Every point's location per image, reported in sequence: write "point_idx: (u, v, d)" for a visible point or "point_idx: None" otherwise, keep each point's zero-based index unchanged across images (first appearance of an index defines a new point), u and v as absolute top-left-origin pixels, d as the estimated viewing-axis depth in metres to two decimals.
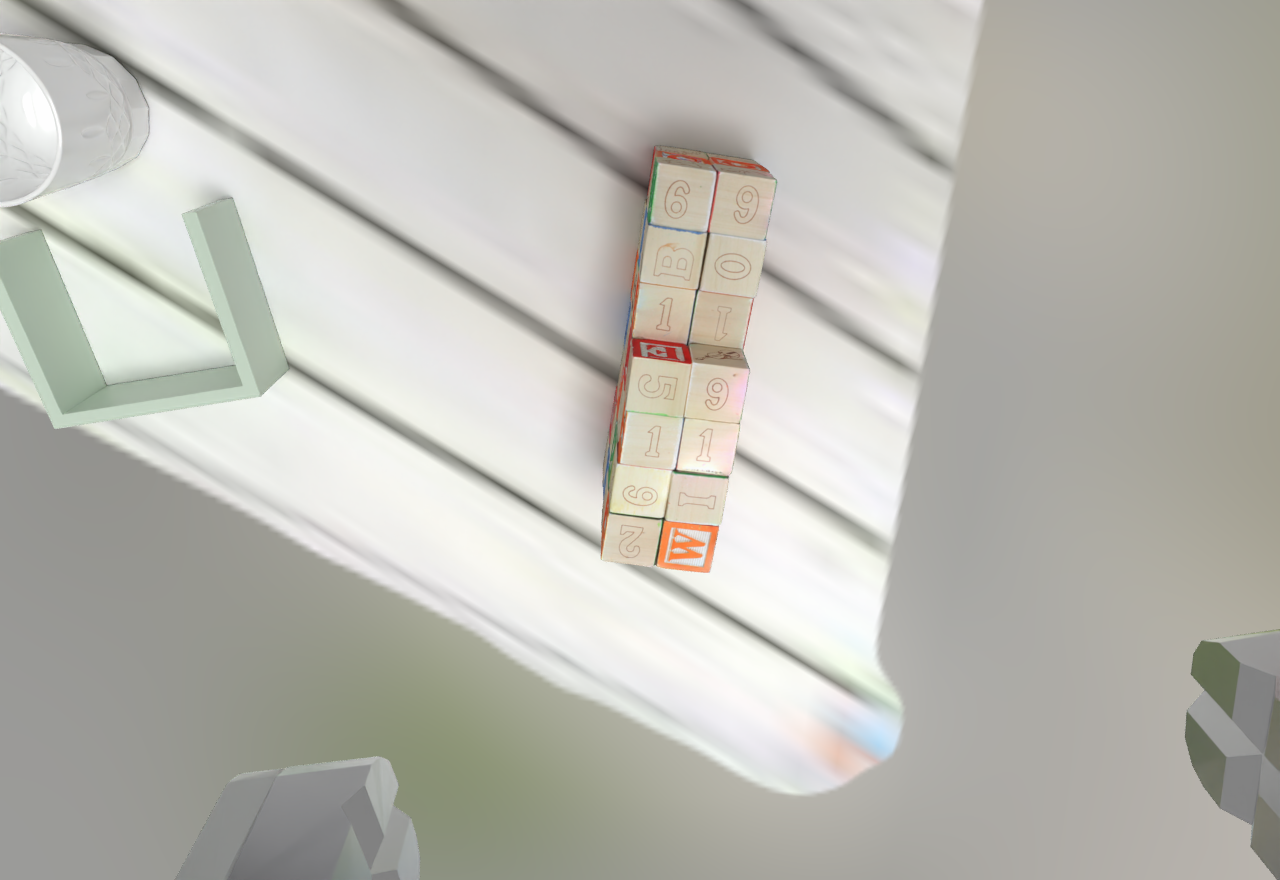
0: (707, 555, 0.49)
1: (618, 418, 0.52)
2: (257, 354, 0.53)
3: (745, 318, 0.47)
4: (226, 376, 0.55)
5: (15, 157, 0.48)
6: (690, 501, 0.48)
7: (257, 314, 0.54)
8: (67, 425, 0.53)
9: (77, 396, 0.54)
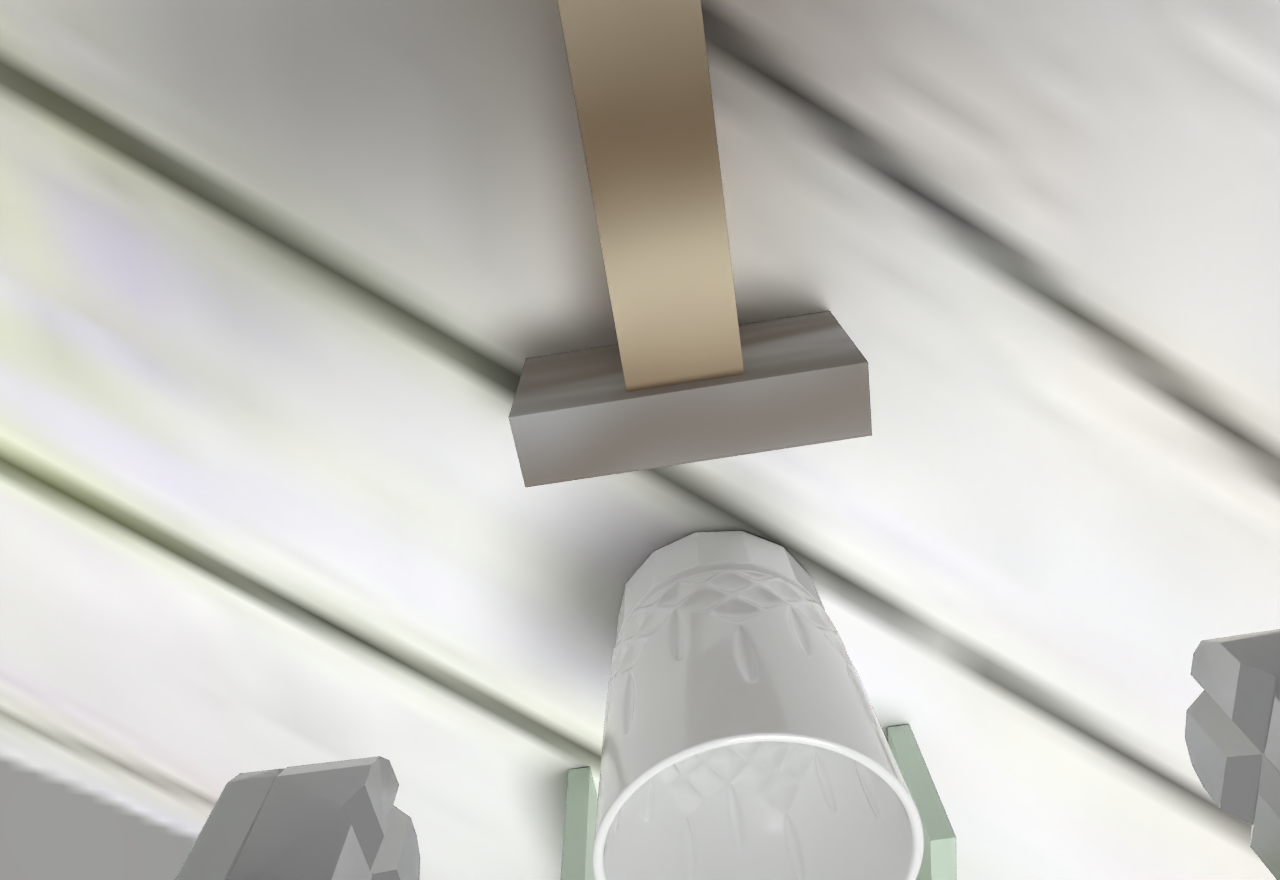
0: None
1: None
2: None
3: None
4: None
5: None
6: None
7: None
8: None
9: None
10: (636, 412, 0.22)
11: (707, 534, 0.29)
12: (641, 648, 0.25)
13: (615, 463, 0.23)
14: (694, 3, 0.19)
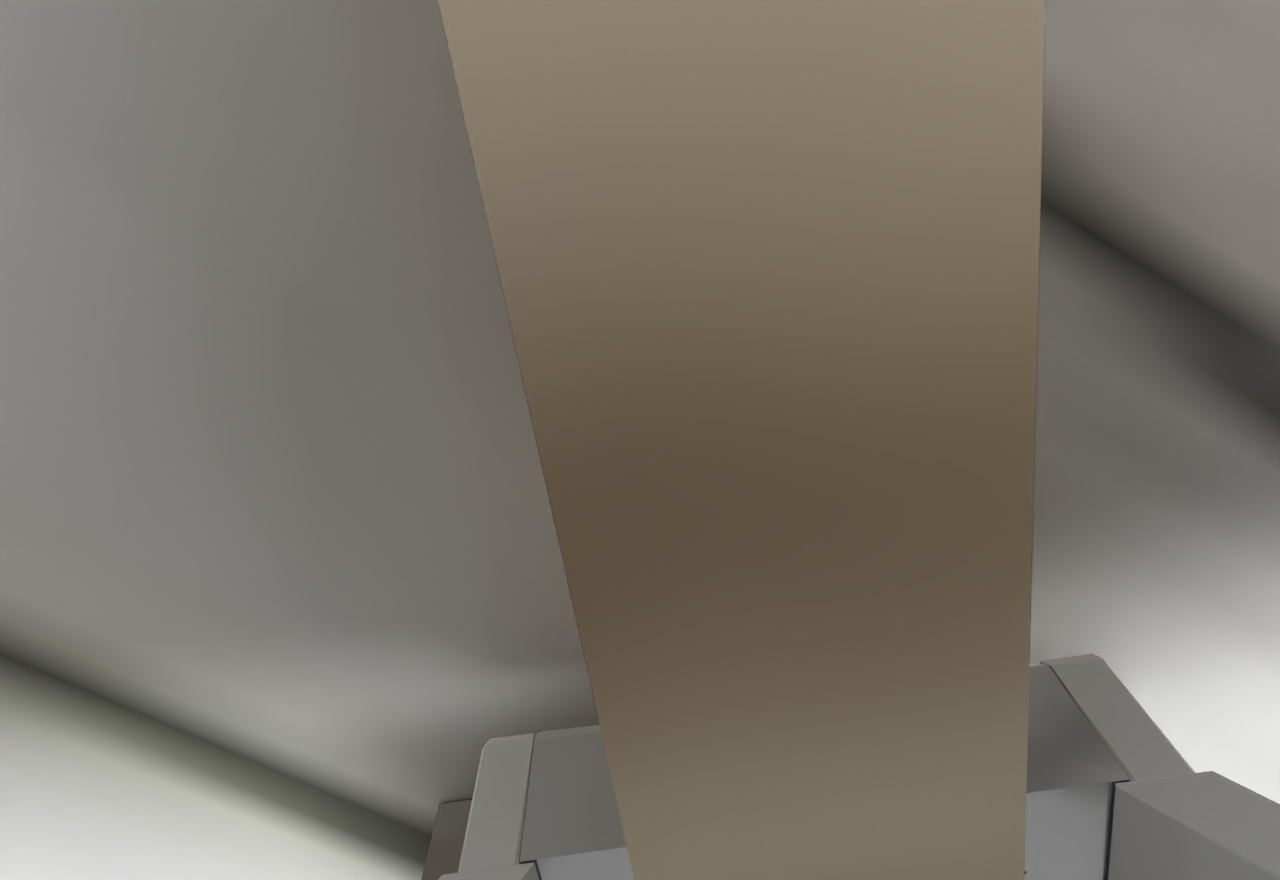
0: None
1: None
2: None
3: None
4: None
5: None
6: None
7: None
8: None
9: None
10: None
11: None
12: None
13: None
14: (1018, 10, 0.04)
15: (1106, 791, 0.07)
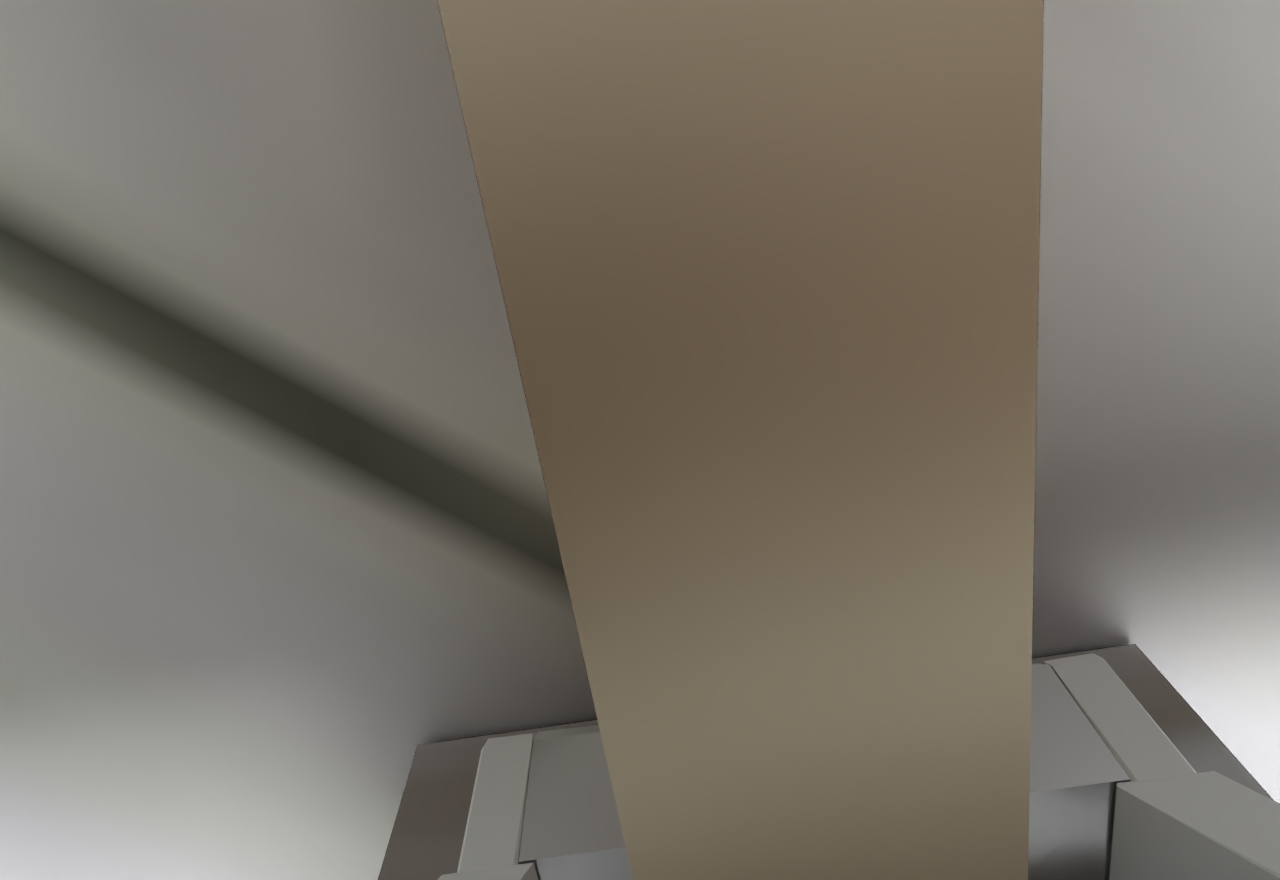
0: None
1: None
2: None
3: None
4: None
5: None
6: None
7: None
8: None
9: None
10: None
11: None
12: None
13: None
14: None
15: (1107, 791, 0.07)
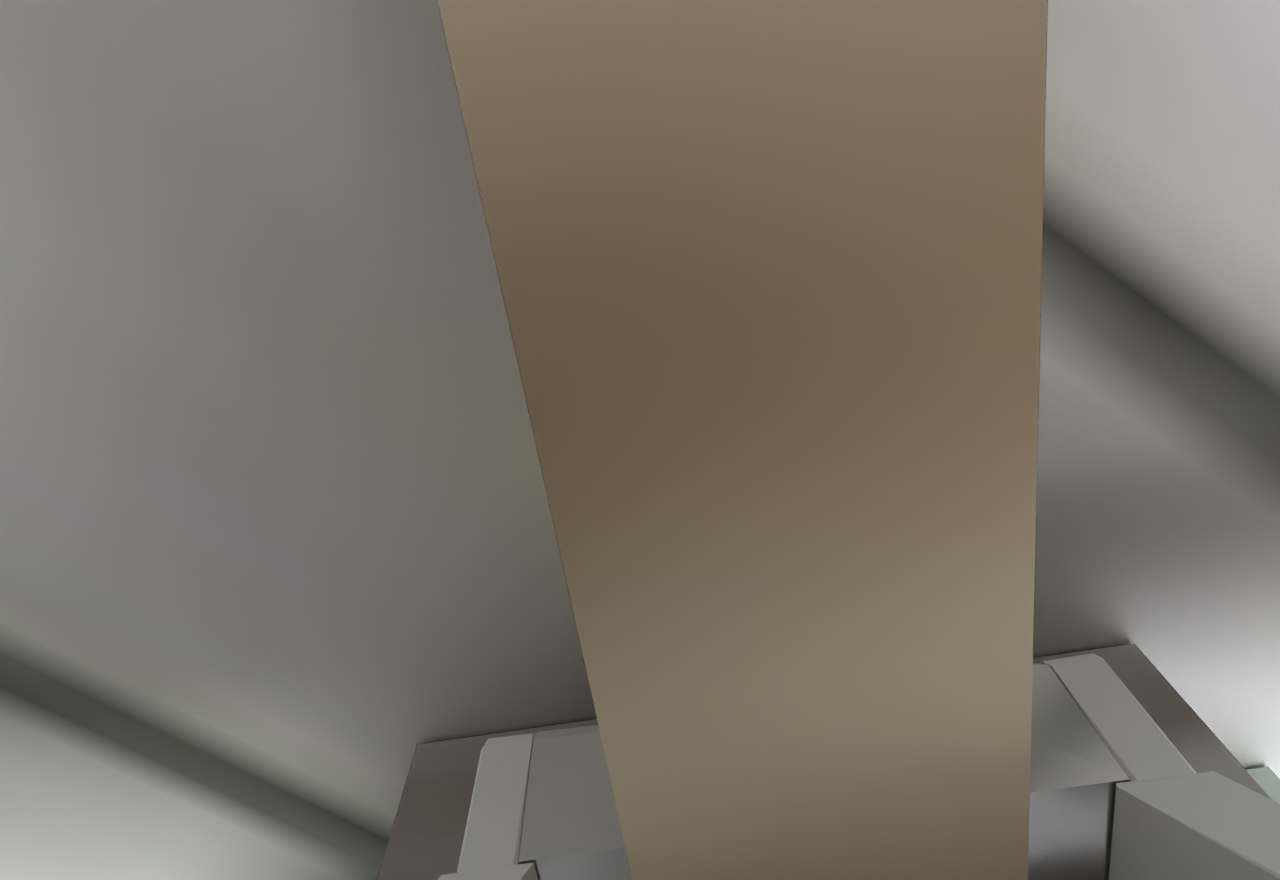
0: None
1: None
2: None
3: None
4: None
5: None
6: None
7: None
8: None
9: None
10: None
11: None
12: None
13: None
14: None
15: (1106, 791, 0.07)
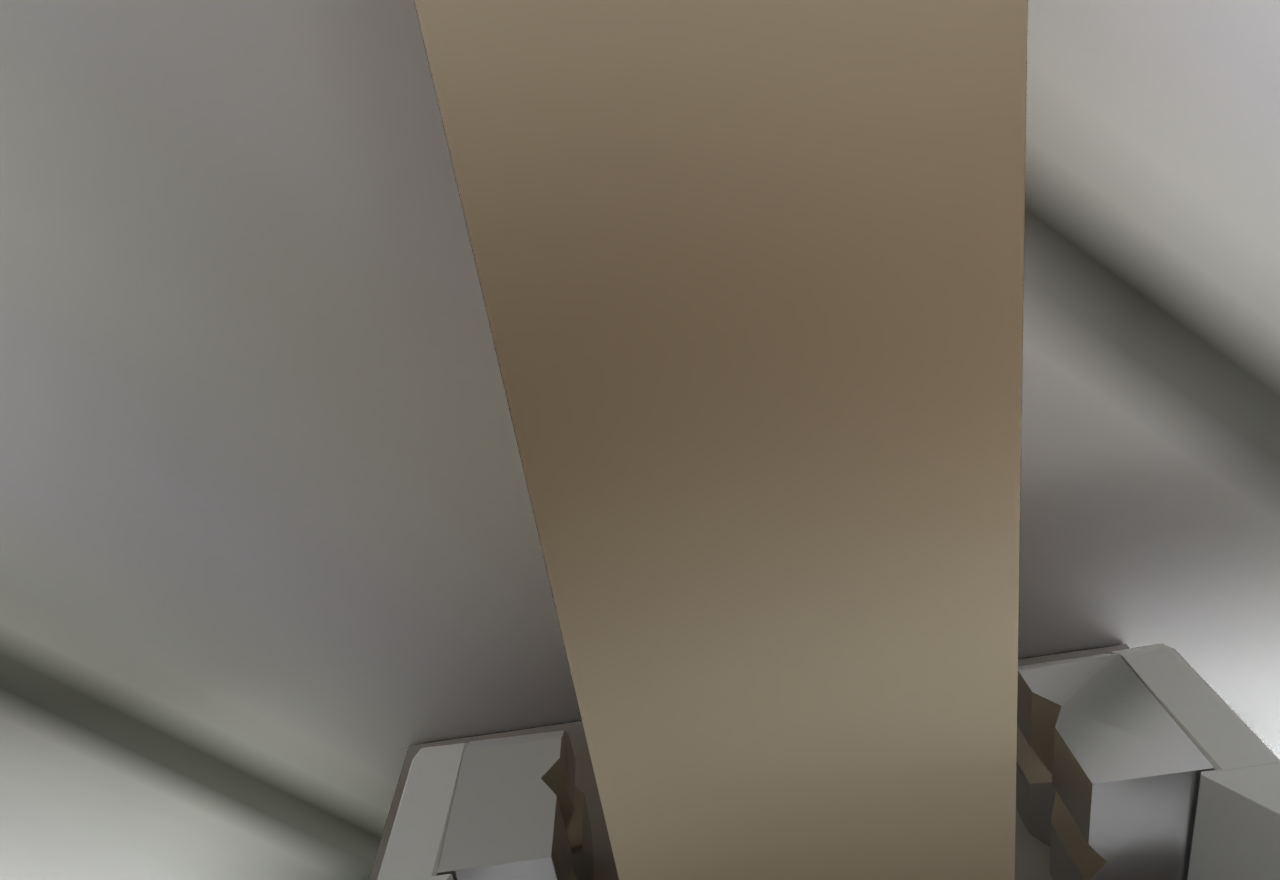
0: None
1: None
2: None
3: None
4: None
5: None
6: None
7: None
8: None
9: None
10: None
11: None
12: None
13: None
14: None
15: (1190, 780, 0.07)
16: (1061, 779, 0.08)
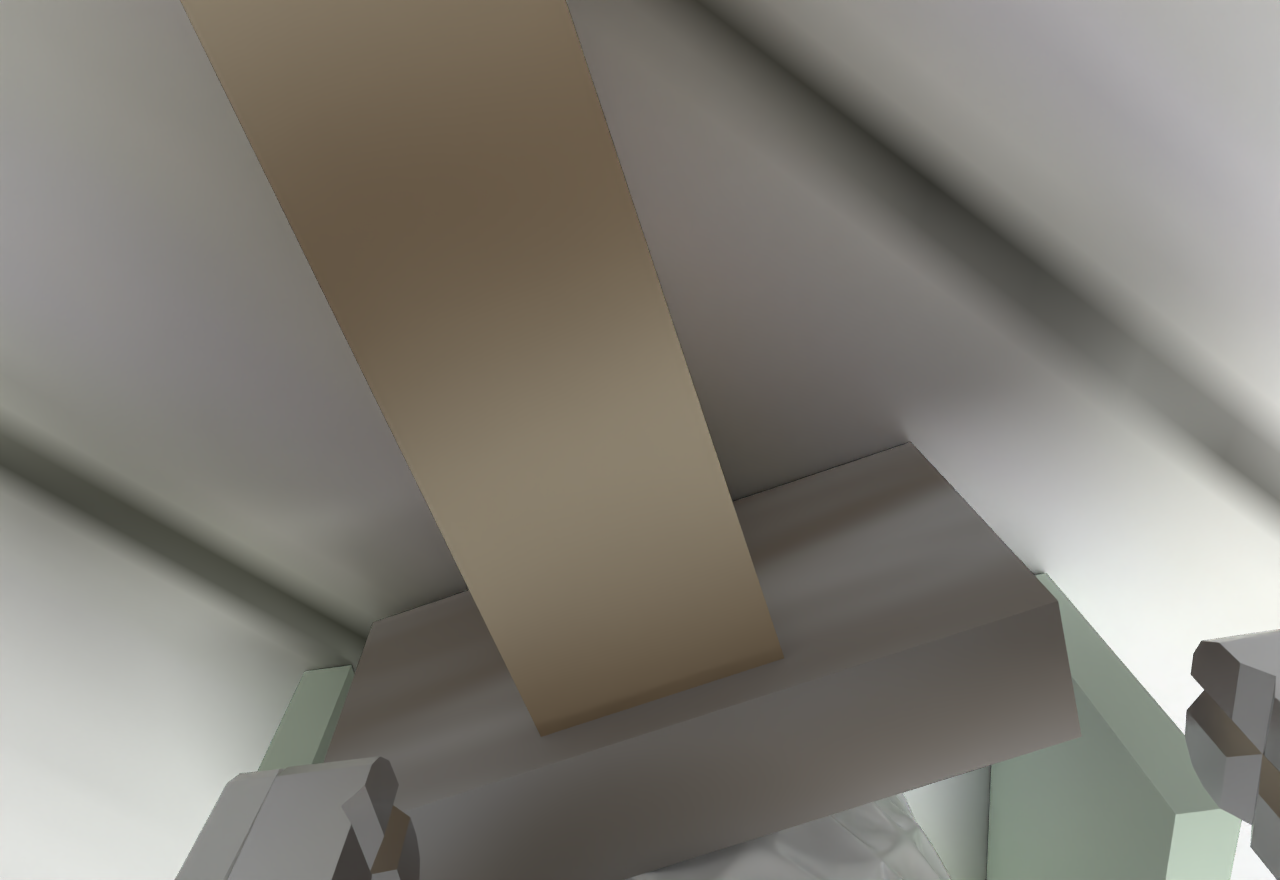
0: None
1: None
2: None
3: None
4: None
5: None
6: None
7: None
8: None
9: None
10: (566, 787, 0.10)
11: None
12: None
13: None
14: None
15: None
16: None
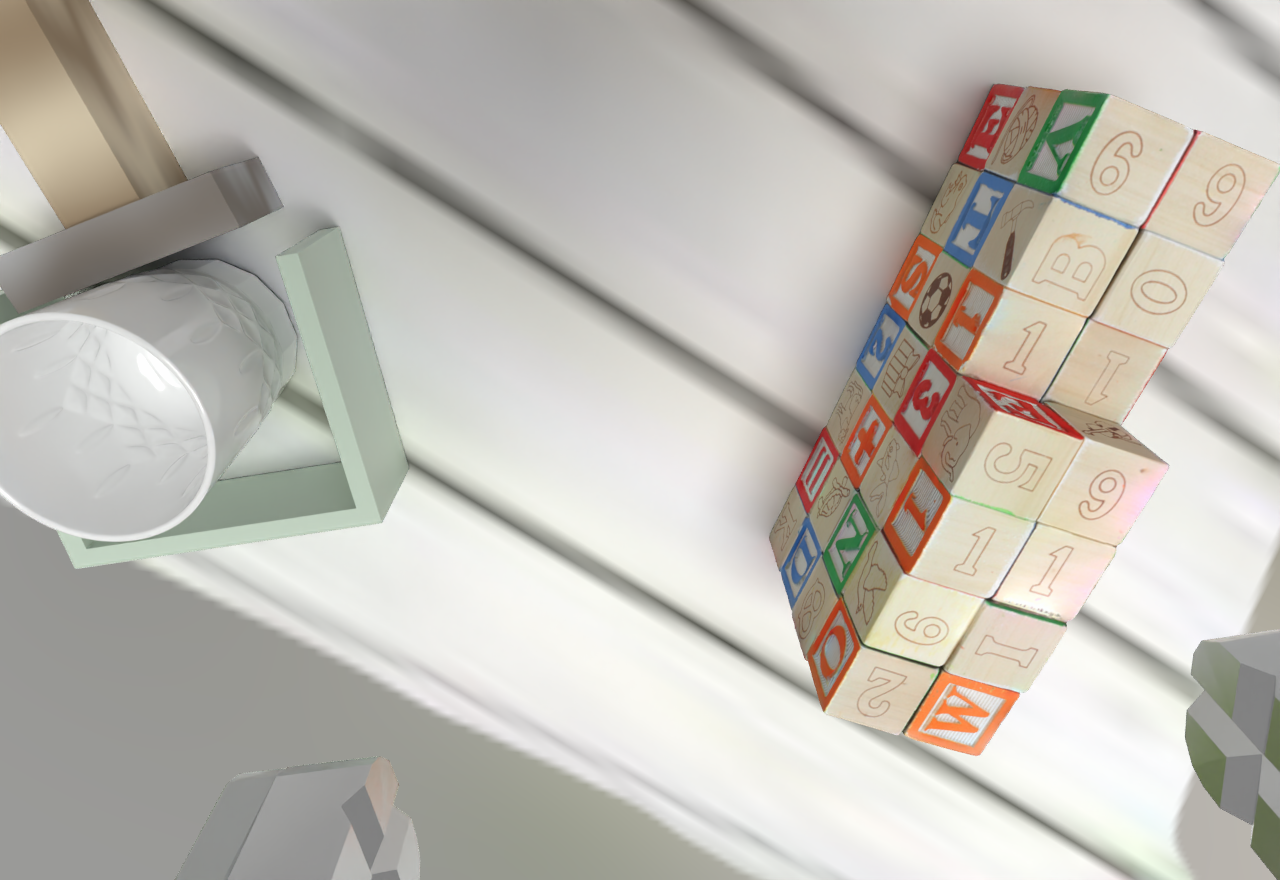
0: (986, 731, 0.31)
1: (869, 488, 0.33)
2: (375, 459, 0.36)
3: (1144, 378, 0.29)
4: (324, 485, 0.37)
5: (122, 423, 0.34)
6: (996, 651, 0.30)
7: (373, 397, 0.36)
8: (94, 564, 0.36)
9: None
10: (68, 241, 0.31)
11: (187, 260, 0.35)
12: None
13: (72, 283, 0.32)
14: None
15: None
16: None
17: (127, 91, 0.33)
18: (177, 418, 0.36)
